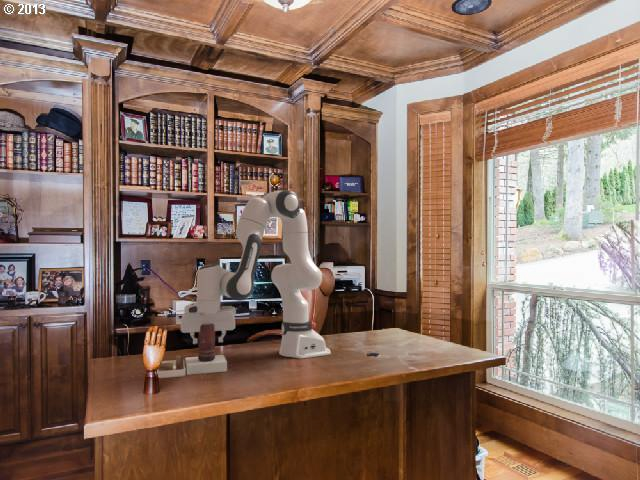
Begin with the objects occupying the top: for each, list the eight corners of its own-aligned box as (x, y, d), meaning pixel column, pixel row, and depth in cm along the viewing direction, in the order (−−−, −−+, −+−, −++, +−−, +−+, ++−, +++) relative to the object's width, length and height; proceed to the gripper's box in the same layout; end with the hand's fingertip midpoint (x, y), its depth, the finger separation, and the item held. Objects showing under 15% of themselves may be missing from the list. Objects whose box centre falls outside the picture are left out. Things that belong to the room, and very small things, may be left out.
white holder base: (223, 363, 176) (223, 354, 176) (226, 371, 166) (227, 361, 166) (185, 366, 172) (185, 357, 172) (186, 374, 161) (186, 365, 161)
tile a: (182, 355, 168) (175, 355, 167) (183, 357, 164) (176, 358, 163) (182, 368, 168) (175, 369, 167) (183, 371, 164) (176, 371, 163)
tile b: (158, 363, 165) (158, 370, 165) (158, 366, 161) (158, 373, 161) (172, 362, 167) (172, 369, 167) (173, 365, 163) (172, 372, 163)
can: (211, 362, 165) (211, 324, 165) (195, 361, 166) (195, 324, 166) (218, 358, 171) (218, 322, 171) (202, 357, 172) (203, 321, 172)
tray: (183, 365, 173) (183, 359, 173) (185, 376, 160) (185, 369, 160) (156, 367, 169) (156, 361, 169) (155, 378, 156) (155, 371, 156)
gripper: (234, 304, 176) (234, 339, 176) (180, 306, 169) (180, 342, 169) (237, 306, 170) (236, 342, 170) (181, 308, 163) (180, 346, 163)
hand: (208, 342), depth 169 cm, fingers open, 8 cm apart
